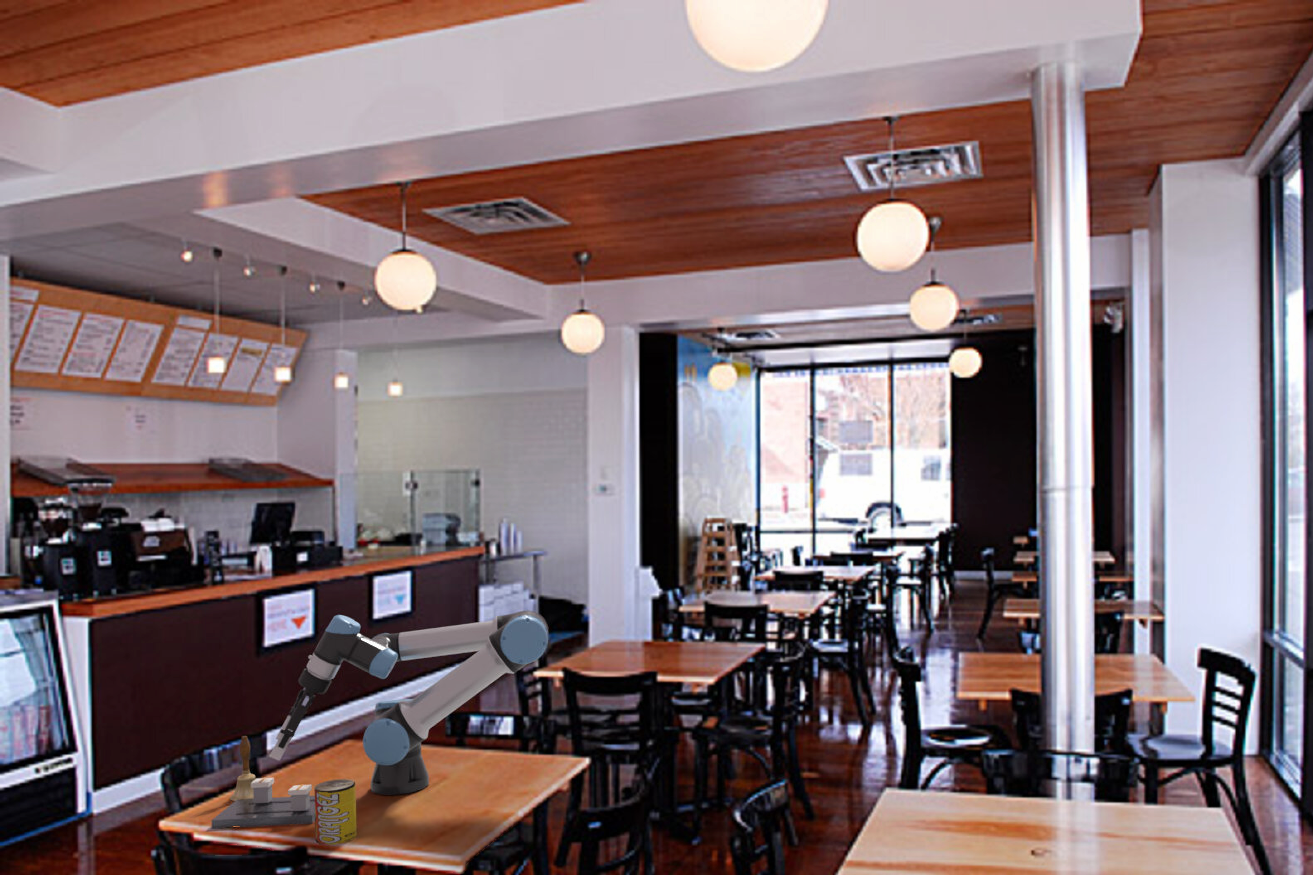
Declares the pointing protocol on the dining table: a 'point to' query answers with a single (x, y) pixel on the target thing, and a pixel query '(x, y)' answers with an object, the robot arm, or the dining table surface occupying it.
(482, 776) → the dining table surface
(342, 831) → the beverage can
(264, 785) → the block
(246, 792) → the hand bell
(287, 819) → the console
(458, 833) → the dining table surface
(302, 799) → the fader near
